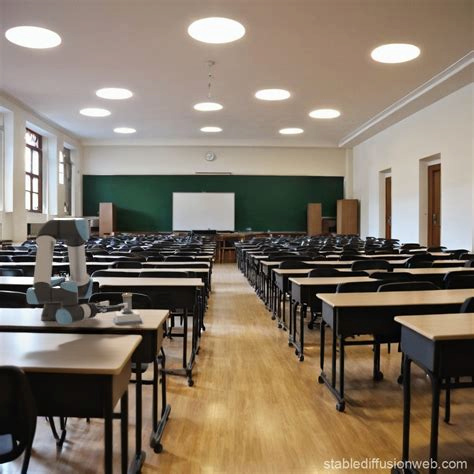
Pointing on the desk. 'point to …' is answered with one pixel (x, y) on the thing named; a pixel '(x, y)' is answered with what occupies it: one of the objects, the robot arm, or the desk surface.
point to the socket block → (127, 318)
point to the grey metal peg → (127, 300)
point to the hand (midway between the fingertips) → (117, 304)
